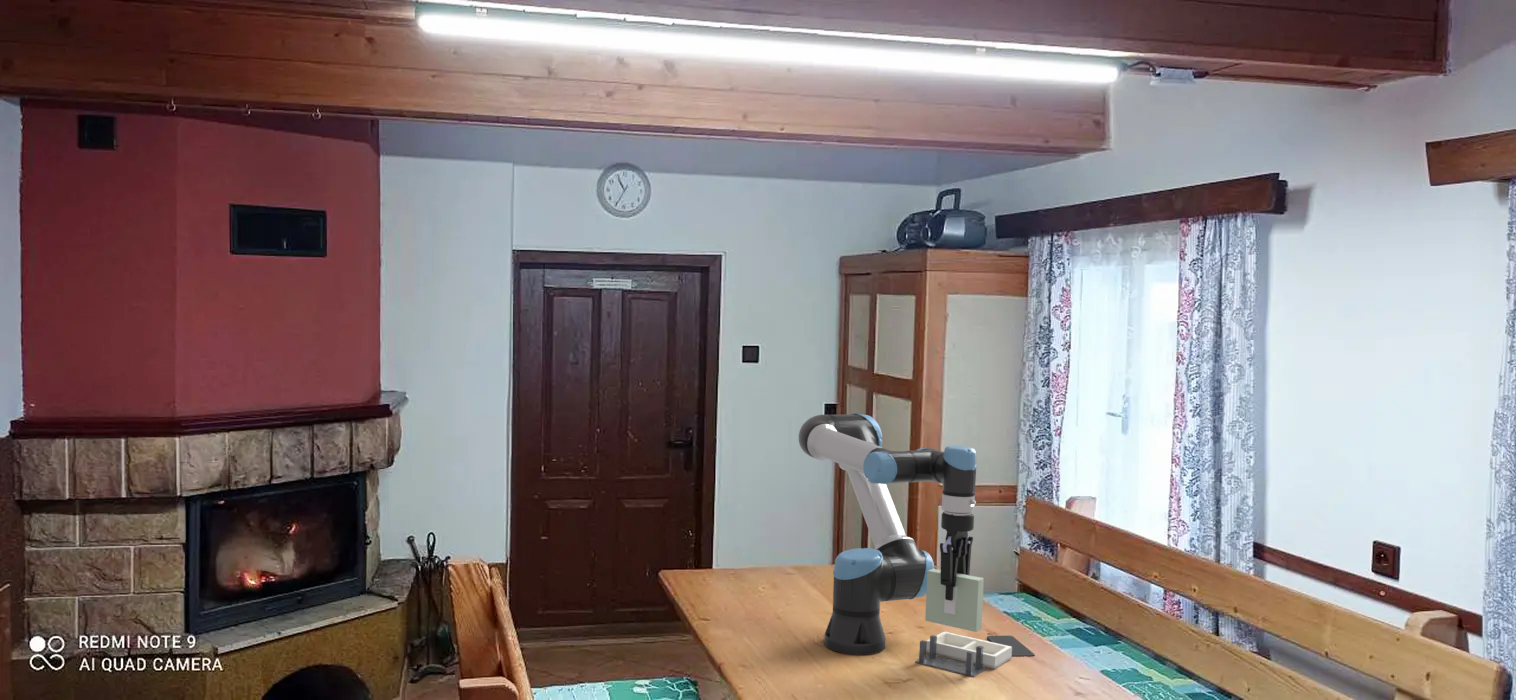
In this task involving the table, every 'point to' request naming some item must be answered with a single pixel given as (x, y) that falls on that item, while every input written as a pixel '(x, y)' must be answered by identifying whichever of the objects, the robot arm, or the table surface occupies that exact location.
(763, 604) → the table surface
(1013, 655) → the smartphone
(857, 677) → the table surface
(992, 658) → the white divided tray
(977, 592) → the door panel
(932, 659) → the grey four-post stand
